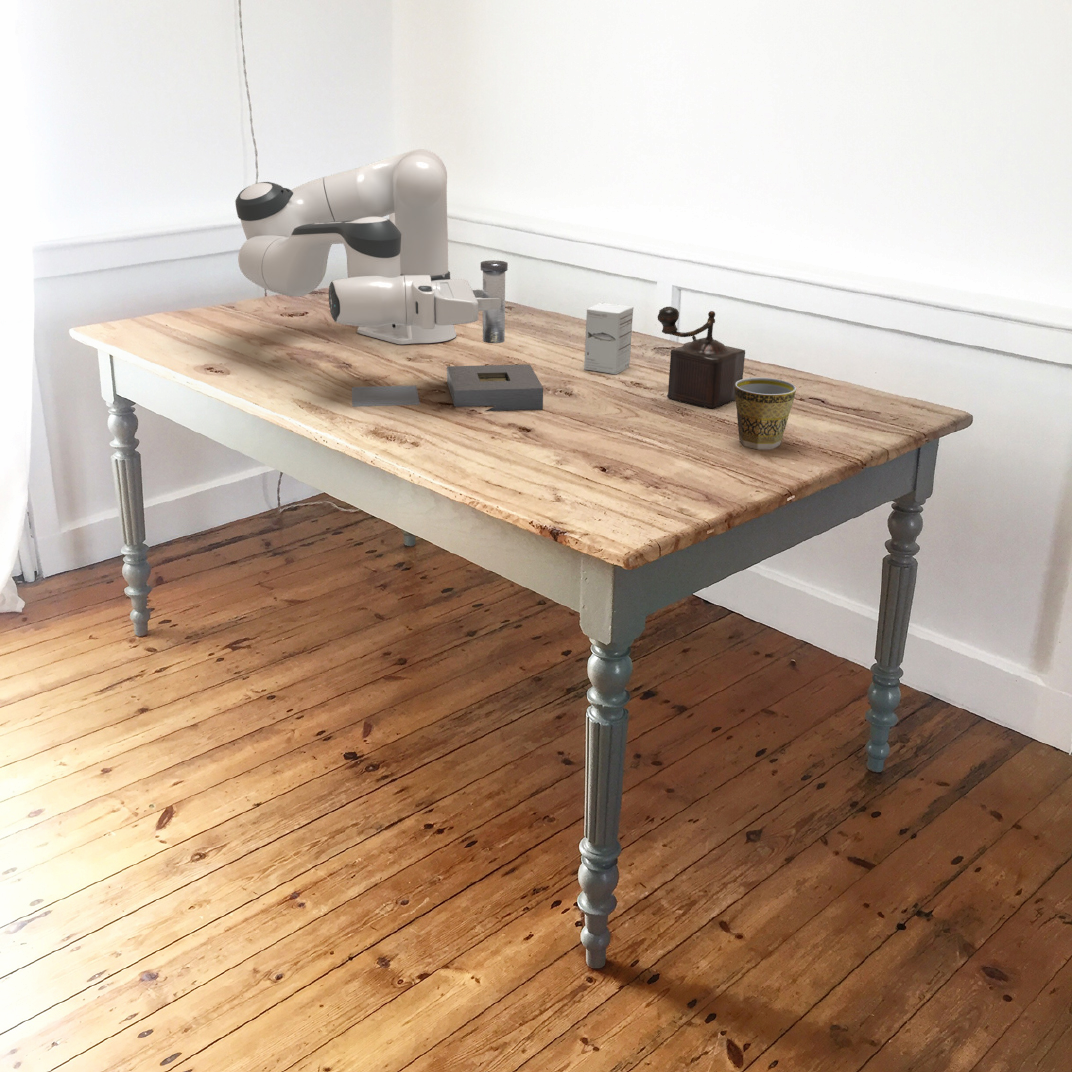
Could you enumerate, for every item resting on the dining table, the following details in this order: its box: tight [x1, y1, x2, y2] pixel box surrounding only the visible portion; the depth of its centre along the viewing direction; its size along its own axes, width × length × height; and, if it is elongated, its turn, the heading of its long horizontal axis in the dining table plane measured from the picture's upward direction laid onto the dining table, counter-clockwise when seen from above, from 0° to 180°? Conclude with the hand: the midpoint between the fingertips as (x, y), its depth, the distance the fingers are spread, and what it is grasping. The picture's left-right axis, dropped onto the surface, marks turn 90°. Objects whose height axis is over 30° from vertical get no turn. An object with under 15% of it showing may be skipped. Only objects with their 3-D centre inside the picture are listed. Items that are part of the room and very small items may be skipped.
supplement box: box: [583, 302, 634, 376], centre depth 231 cm, size 7×7×13 cm
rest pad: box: [351, 385, 421, 408], centre depth 211 cm, size 12×12×1 cm
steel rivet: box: [480, 259, 509, 344], centre depth 206 cm, size 5×5×14 cm
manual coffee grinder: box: [657, 306, 746, 410], centre depth 211 cm, size 16×11×18 cm
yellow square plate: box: [479, 378, 506, 382], centre depth 213 cm, size 5×5×1 cm
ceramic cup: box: [734, 377, 797, 451], centre depth 192 cm, size 13×10×10 cm
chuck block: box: [446, 363, 544, 412], centre depth 213 cm, size 16×16×4 cm
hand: (498, 299), depth 206 cm, fingers closed on steel rivet, 4 cm apart
